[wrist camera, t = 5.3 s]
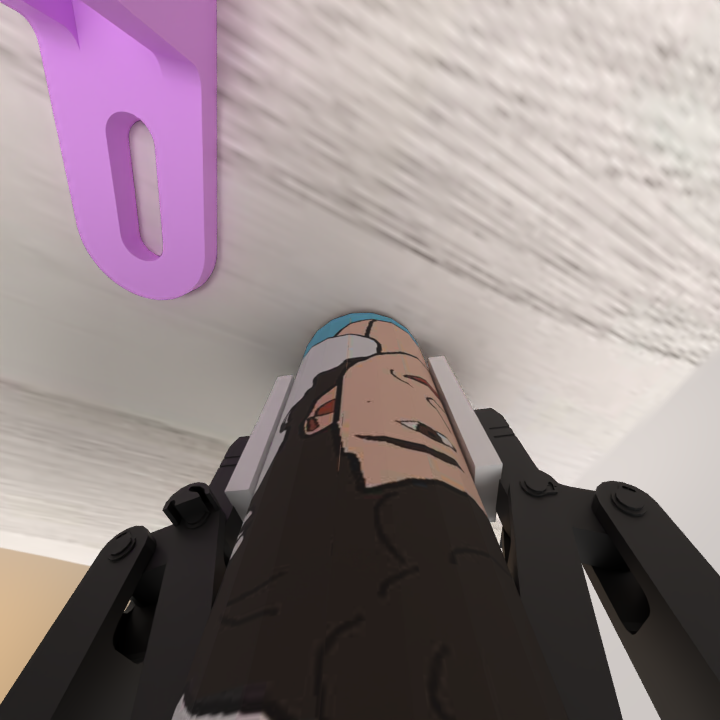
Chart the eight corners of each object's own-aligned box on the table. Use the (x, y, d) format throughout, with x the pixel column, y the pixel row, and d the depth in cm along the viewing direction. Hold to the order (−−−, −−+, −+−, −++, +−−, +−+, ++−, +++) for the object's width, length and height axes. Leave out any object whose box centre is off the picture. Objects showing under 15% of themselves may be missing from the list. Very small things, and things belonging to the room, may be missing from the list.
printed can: (408, 420, 18) (531, 977, 5) (301, 409, 18) (140, 984, 5) (435, 320, 15) (942, 1124, 2) (305, 304, 15) (-156, 1191, 2)
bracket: (43, -116, 9) (-559, -714, 3) (218, -57, 10) (-17, -475, 4) (111, 278, 15) (-56, 327, 9) (218, 302, 16) (126, 363, 10)
